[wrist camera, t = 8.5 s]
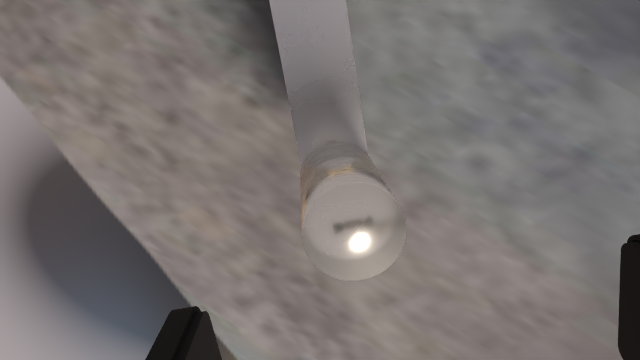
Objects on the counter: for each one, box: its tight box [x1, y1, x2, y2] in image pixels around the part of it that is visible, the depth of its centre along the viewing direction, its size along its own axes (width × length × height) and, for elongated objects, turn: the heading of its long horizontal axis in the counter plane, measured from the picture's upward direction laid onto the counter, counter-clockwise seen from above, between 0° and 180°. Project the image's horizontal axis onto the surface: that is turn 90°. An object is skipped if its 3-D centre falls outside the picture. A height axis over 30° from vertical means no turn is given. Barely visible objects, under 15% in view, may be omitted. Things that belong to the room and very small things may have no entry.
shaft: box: [269, 0, 407, 281], centre depth 17 cm, size 3×17×9 cm, turn 10°
